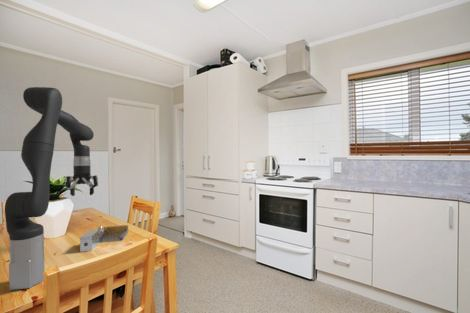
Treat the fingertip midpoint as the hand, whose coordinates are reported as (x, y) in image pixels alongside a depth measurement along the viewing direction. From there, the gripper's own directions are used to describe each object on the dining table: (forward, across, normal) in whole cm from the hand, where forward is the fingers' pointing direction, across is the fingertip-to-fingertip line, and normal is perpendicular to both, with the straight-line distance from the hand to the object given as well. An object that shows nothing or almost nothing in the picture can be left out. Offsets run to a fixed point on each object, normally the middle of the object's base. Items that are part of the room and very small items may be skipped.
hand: (82, 195), depth 121 cm
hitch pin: (+24, +5, +12) cm, 28 cm away
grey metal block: (+25, +7, -9) cm, 27 cm away
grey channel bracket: (+24, +14, +4) cm, 28 cm away
